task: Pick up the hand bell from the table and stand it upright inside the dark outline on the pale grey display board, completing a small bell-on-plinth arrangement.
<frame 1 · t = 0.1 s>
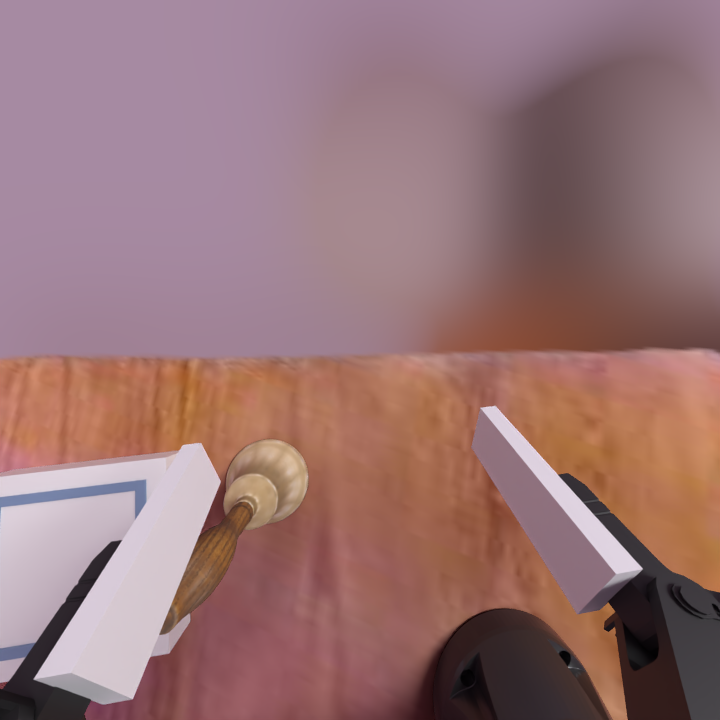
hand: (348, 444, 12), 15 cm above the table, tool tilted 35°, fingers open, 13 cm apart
hand bell: (268, 479, 26), on the table
display board: (101, 544, 24), on the table
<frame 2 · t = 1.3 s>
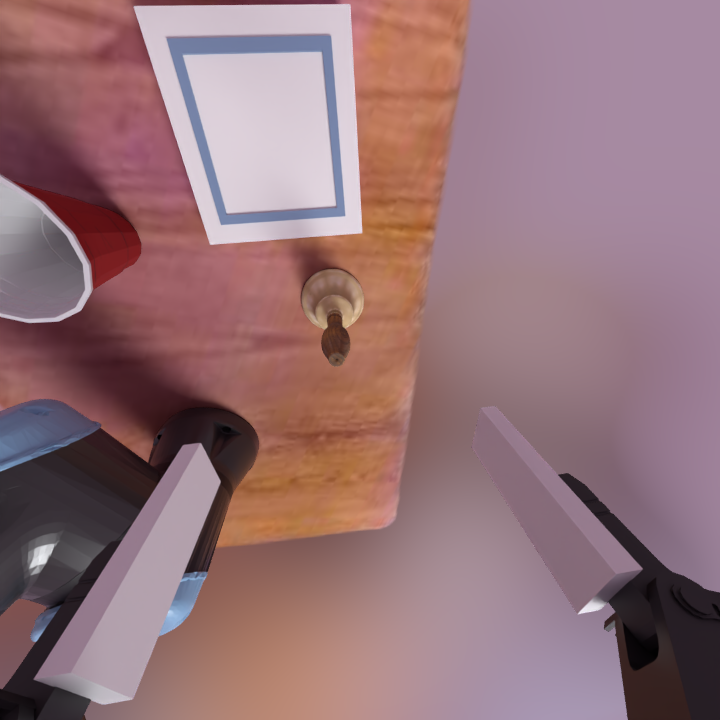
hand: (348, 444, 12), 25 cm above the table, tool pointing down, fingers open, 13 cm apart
plastic cup: (115, 240, 28), on the table
hand bell: (333, 300, 34), on the table
display board: (275, 149, 26), on the table
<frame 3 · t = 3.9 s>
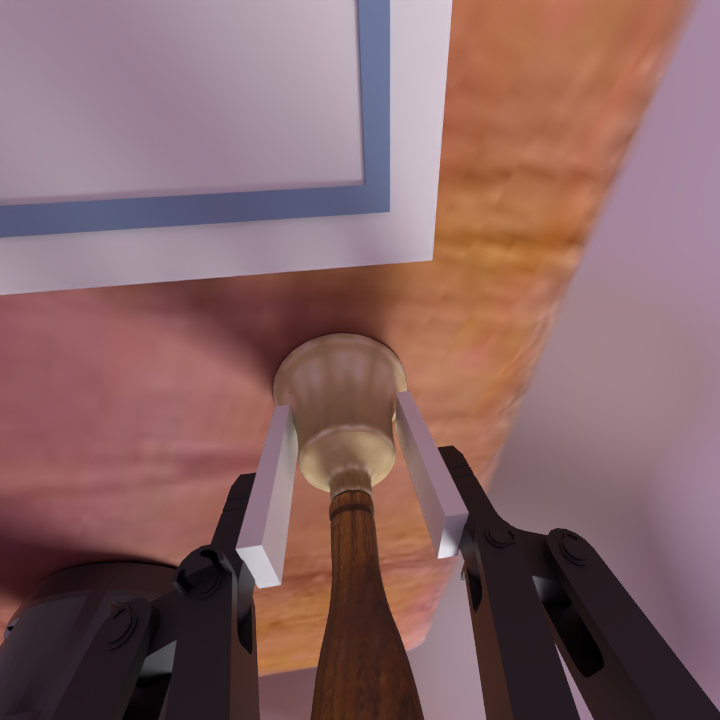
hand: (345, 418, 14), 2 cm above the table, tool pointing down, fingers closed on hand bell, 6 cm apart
hand bell: (341, 391, 16), on the table, touching gripper
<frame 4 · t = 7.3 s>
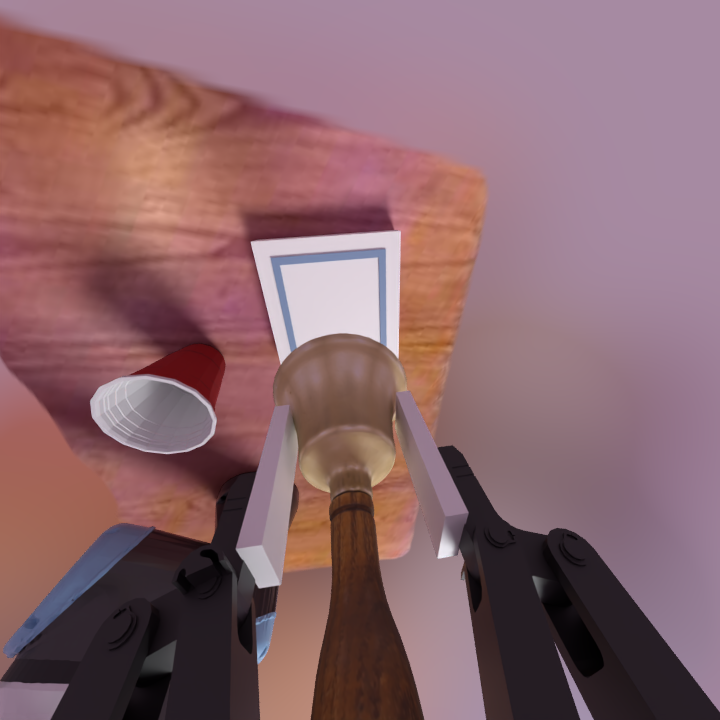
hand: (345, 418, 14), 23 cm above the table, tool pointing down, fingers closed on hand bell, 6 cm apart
plastic cup: (205, 362, 36), on the table
hand bell: (341, 391, 16), point 20 cm above the table, touching gripper
display board: (334, 301, 34), on the table
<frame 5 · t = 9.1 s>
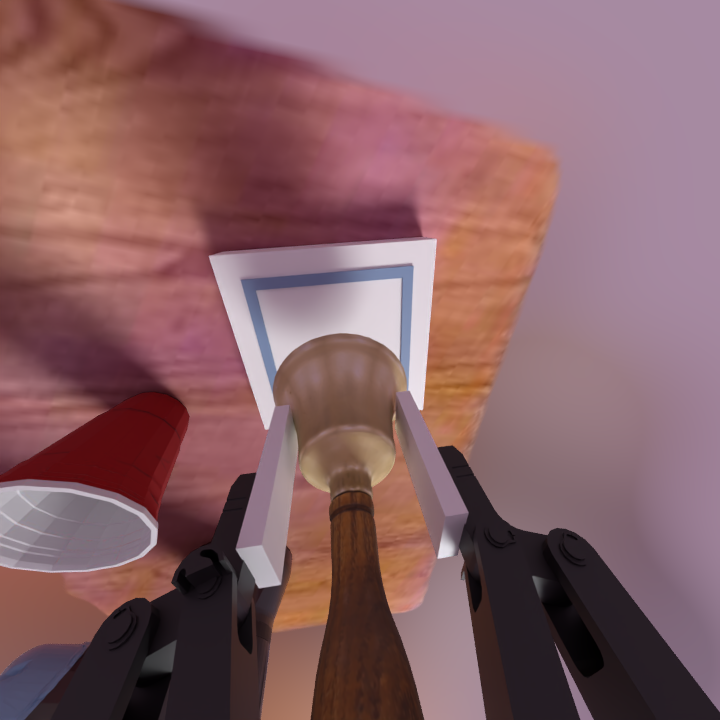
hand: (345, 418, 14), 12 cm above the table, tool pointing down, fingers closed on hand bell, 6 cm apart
plastic cup: (162, 413, 26), on the table
hand bell: (341, 391, 16), point 9 cm above the table, touching gripper
display board: (336, 335, 24), on the table
when the fingers open (7 cm above the table, at t = 10.5 s): hand bell drops 1 cm, resting on display board.
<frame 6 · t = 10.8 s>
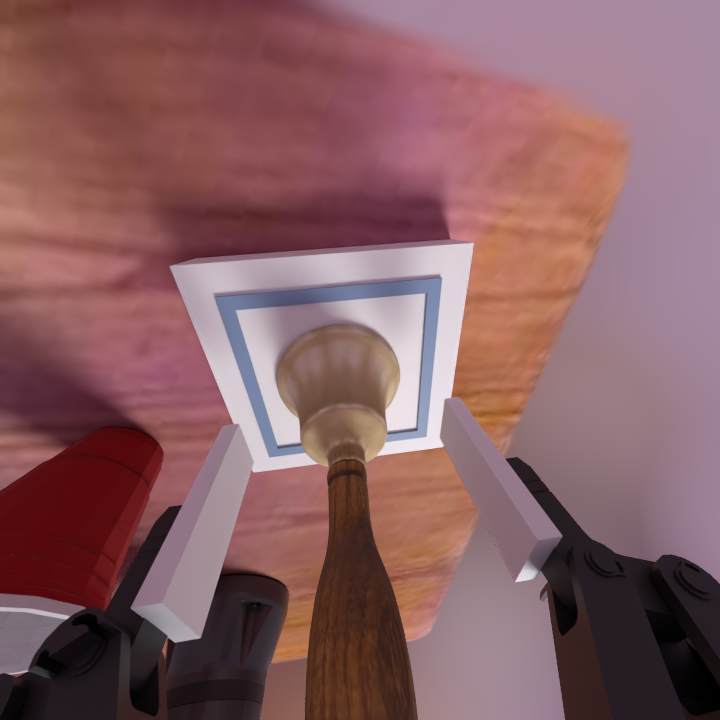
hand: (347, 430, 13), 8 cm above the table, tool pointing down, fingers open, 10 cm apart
plastic cup: (131, 450, 22), on the table
hand bell: (339, 379, 17), point 3 cm above the table, touching display board
display board: (340, 358, 20), on the table
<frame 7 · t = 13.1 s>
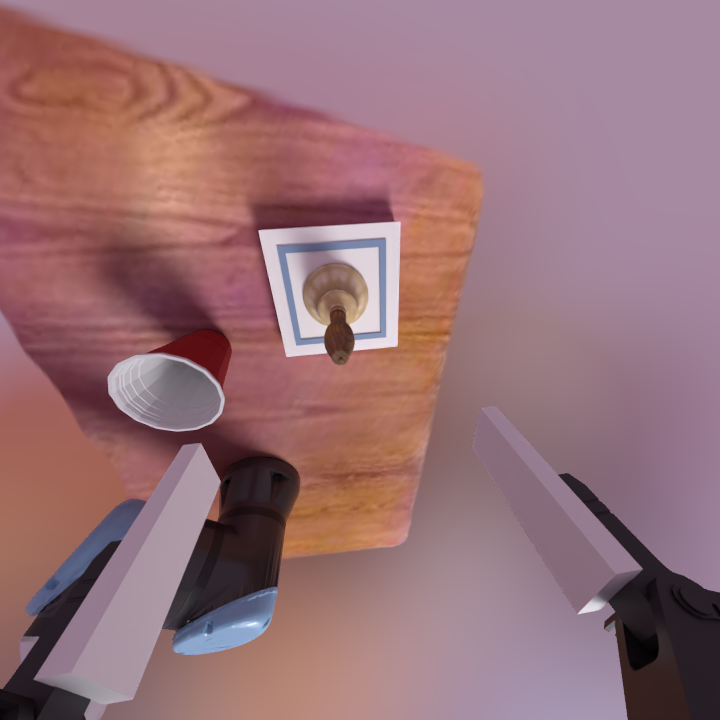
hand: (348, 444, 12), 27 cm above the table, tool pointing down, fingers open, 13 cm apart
plastic cup: (212, 347, 37), on the table
hand bell: (336, 296, 33), point 3 cm above the table, touching display board
display board: (336, 290, 35), on the table
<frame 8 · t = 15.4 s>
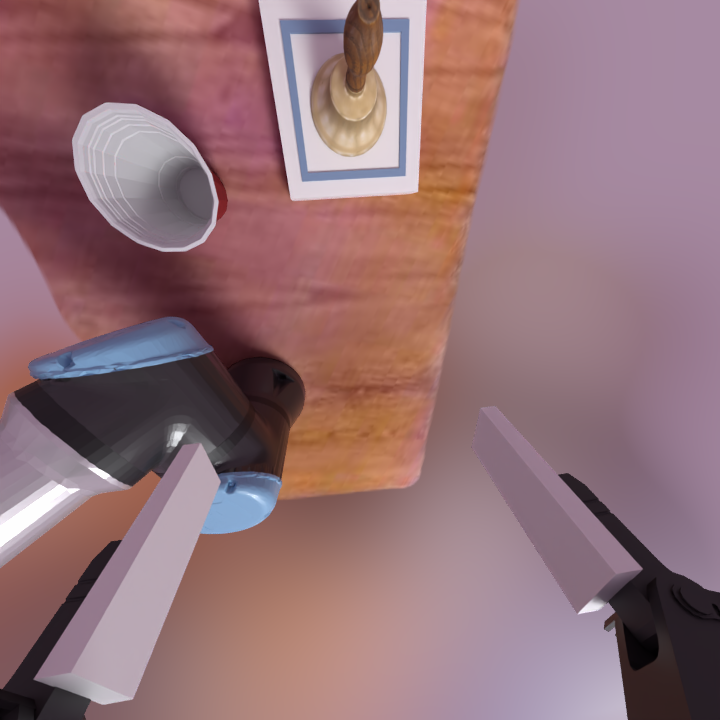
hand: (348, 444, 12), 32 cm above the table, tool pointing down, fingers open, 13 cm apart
plastic cup: (206, 197, 33), on the table
hand bell: (349, 110, 28), point 3 cm above the table, touching display board
display board: (348, 118, 30), on the table
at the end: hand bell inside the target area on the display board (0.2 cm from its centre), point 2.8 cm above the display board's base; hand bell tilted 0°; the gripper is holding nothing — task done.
